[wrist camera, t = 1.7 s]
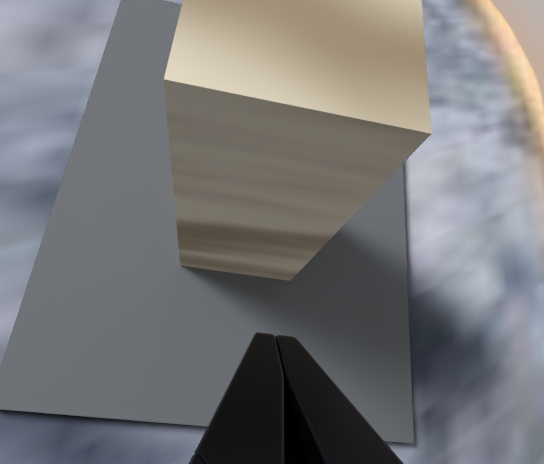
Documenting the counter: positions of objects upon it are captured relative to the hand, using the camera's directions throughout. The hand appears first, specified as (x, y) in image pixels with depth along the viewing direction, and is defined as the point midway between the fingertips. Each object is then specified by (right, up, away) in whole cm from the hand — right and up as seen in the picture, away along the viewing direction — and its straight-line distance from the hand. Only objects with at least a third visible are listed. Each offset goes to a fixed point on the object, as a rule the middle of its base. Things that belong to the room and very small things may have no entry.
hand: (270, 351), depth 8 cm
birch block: (-2, +2, +14) cm, 15 cm away
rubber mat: (-2, +5, +16) cm, 17 cm away
